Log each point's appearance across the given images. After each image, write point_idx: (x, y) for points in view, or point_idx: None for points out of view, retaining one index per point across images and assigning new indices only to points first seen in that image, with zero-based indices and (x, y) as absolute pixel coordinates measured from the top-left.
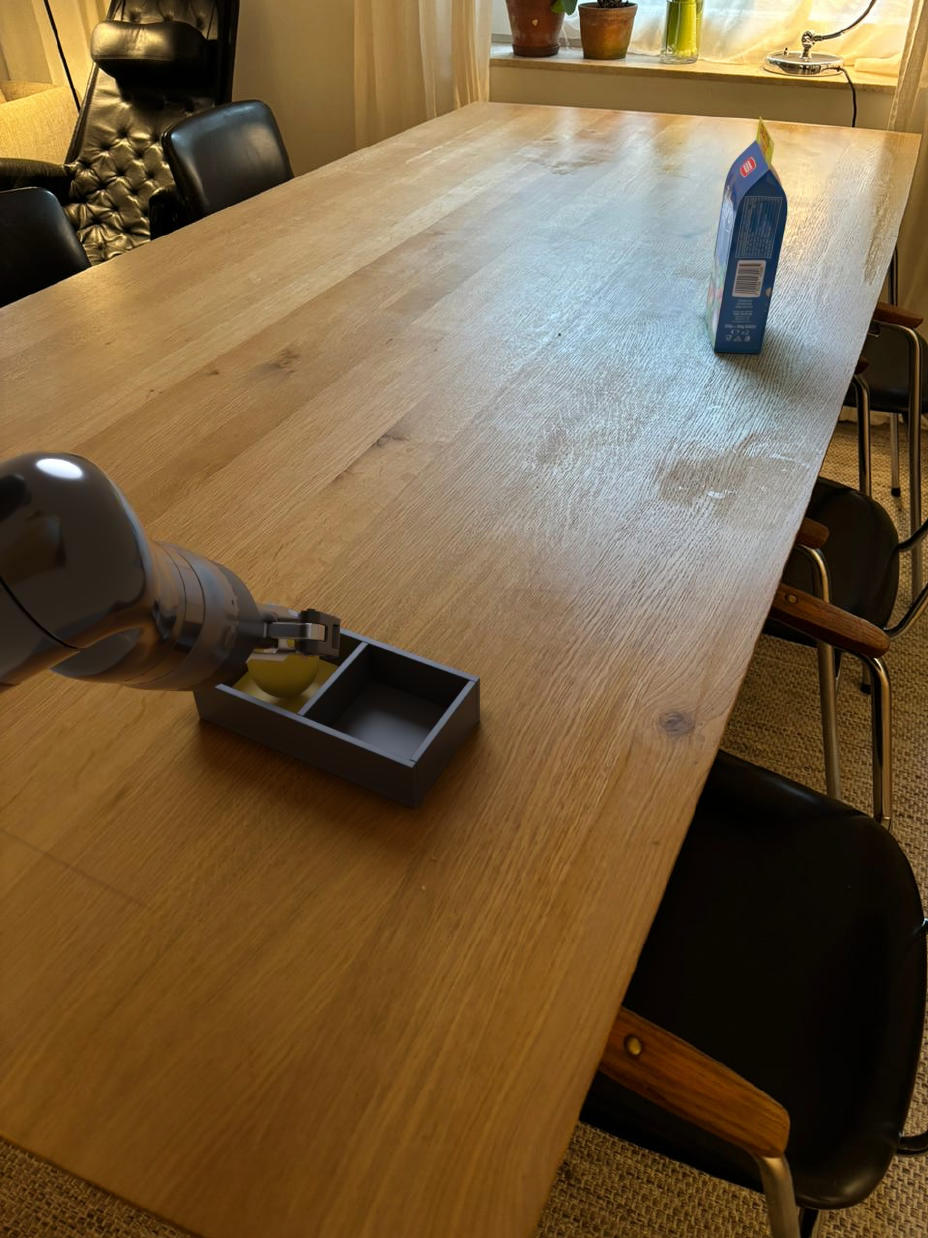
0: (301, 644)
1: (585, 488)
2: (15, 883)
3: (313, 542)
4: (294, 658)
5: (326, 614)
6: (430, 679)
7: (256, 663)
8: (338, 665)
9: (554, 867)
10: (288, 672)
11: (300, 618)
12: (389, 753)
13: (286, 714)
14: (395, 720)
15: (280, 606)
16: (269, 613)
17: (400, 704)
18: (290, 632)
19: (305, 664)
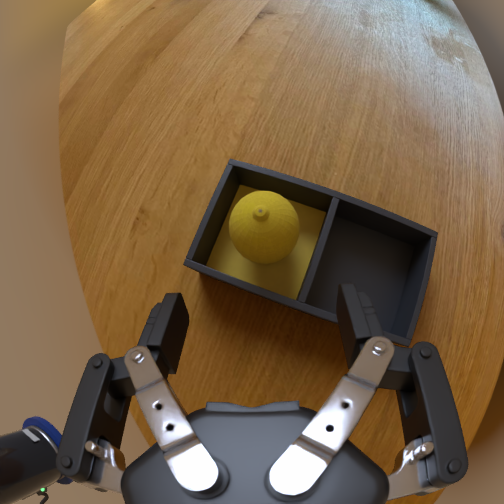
0: (421, 493)
1: (398, 43)
2: (136, 418)
3: (239, 83)
4: (285, 246)
5: (461, 429)
6: (393, 227)
7: (246, 253)
8: (300, 202)
9: (466, 363)
10: (279, 256)
11: (434, 483)
12: (390, 335)
13: (288, 303)
14: (362, 258)
15: (368, 401)
16: (382, 497)
17: (362, 239)
18: (411, 494)
19: (293, 243)
